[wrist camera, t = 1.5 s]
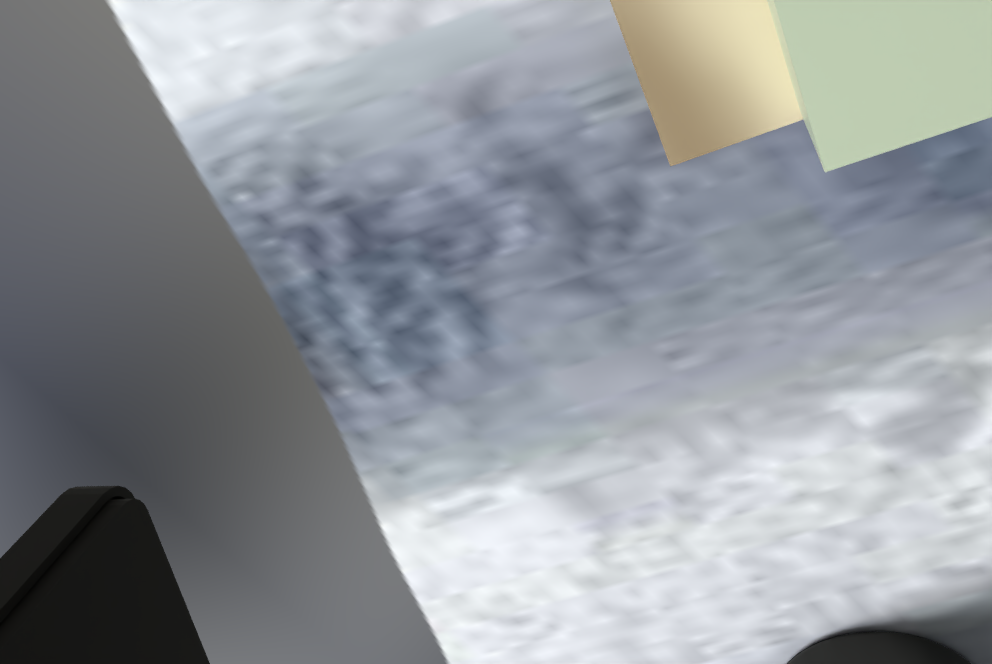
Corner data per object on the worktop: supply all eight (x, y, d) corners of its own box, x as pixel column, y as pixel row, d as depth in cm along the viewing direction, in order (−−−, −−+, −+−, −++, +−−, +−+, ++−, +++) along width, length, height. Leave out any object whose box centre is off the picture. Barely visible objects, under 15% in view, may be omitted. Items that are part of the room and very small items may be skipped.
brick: (952, -156, 24) (1022, -156, 19) (994, 42, 26) (1068, 91, 21) (747, -67, 26) (760, -46, 21) (800, 112, 28) (824, 172, 23)
